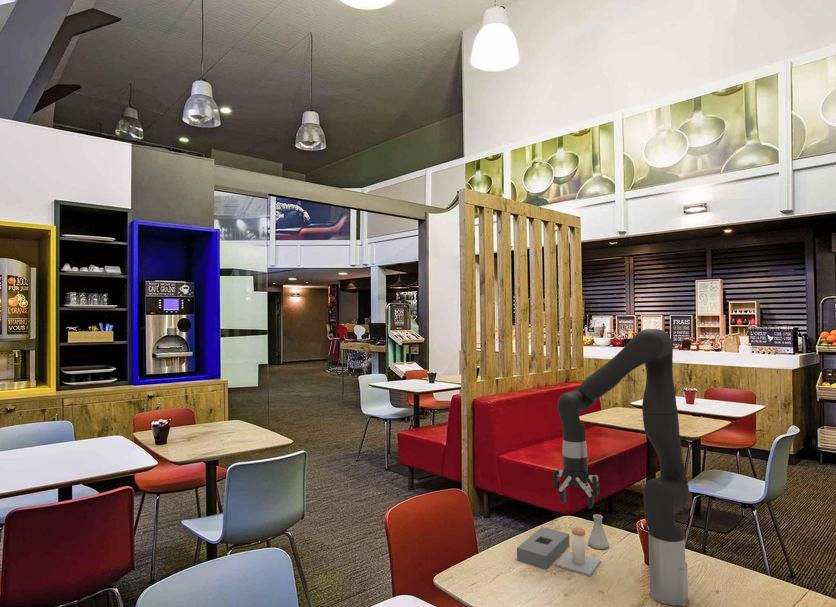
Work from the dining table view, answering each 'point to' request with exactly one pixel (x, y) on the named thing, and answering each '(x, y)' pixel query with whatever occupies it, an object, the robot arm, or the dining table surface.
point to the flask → (598, 534)
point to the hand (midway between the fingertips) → (576, 505)
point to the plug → (578, 546)
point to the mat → (582, 569)
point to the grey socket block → (543, 547)
